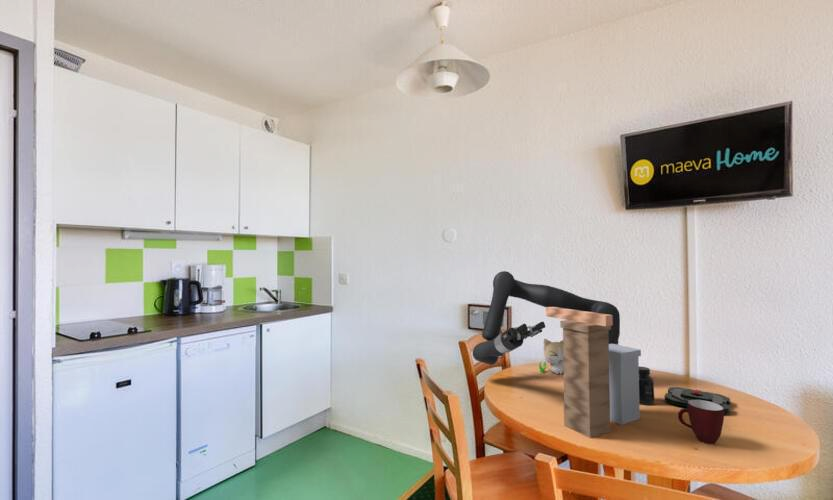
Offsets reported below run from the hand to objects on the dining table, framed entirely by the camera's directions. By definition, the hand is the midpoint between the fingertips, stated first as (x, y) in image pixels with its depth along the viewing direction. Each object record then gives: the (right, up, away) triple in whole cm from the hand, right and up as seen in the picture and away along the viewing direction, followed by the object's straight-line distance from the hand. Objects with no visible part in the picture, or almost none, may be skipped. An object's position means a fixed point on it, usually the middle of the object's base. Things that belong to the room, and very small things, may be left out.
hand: (535, 325), depth 133 cm
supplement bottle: (+39, -28, +2) cm, 48 cm away
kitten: (+21, -29, +37) cm, 52 cm away
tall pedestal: (+10, -27, -19) cm, 35 cm away
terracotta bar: (+8, +5, -15) cm, 18 cm away
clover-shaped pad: (+57, -28, 0) cm, 64 cm away
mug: (+38, -27, -26) cm, 54 cm away
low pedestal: (+23, -27, -11) cm, 38 cm away
